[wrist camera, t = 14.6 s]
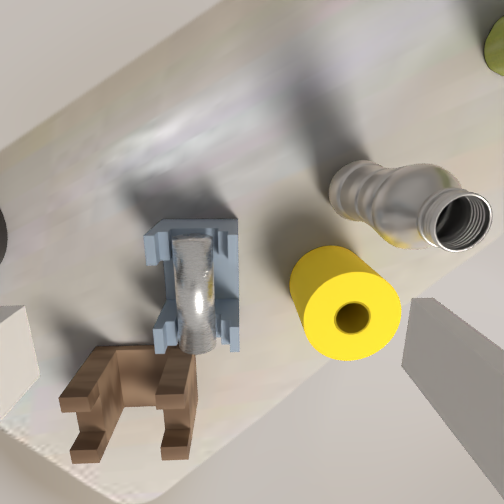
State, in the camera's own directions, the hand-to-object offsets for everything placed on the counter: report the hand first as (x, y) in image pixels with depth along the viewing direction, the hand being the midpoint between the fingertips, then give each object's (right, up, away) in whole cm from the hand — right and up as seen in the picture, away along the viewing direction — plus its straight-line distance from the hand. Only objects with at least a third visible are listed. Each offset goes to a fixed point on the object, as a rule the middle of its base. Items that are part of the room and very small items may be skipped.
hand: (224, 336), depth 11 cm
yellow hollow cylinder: (+11, -1, +31) cm, 33 cm away
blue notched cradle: (-5, +1, +30) cm, 30 cm away
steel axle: (-5, -1, +25) cm, 25 cm away
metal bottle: (+13, +11, +28) cm, 32 cm away
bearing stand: (-13, -14, +34) cm, 39 cm away
